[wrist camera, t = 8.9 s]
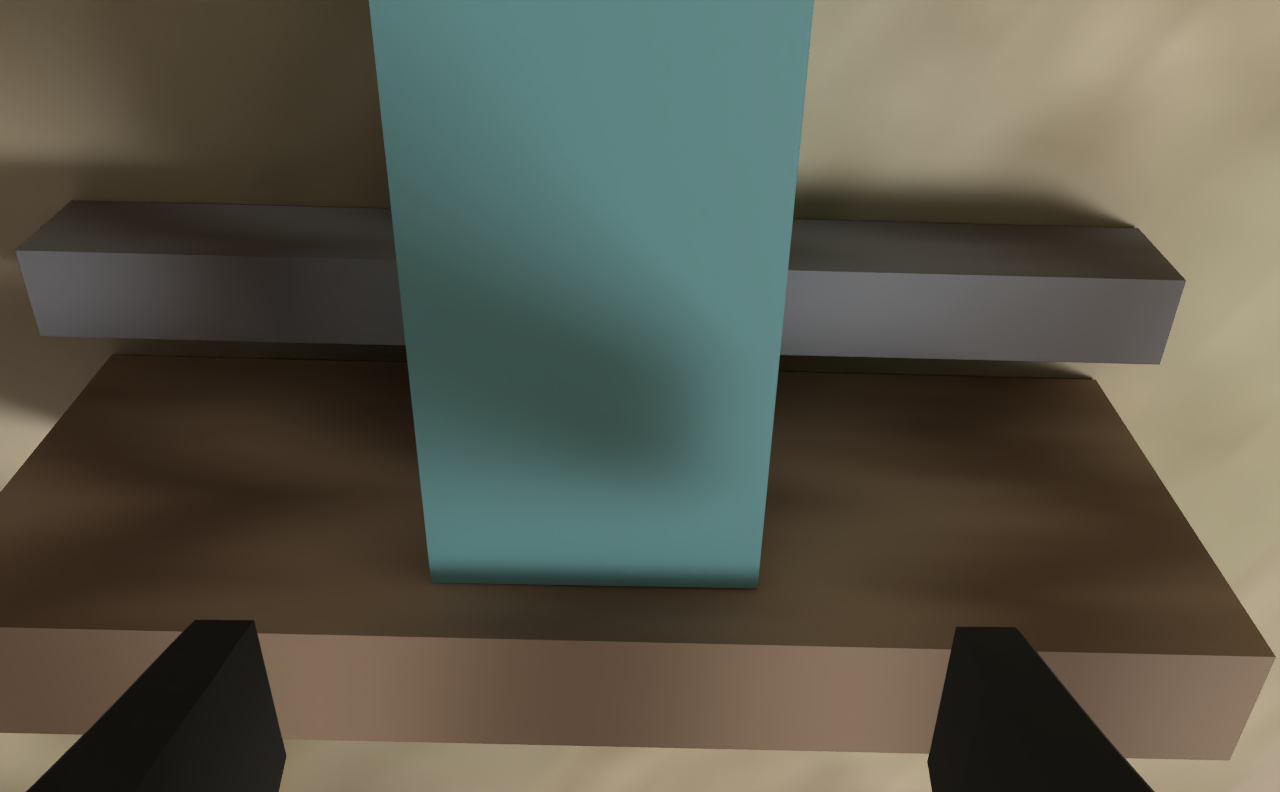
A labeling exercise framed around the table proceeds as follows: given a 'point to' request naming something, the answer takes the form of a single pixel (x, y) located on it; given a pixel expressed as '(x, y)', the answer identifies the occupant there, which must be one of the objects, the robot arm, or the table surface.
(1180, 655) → the brown wooden ledge block
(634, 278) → the teal rectangular block
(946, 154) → the table surface
